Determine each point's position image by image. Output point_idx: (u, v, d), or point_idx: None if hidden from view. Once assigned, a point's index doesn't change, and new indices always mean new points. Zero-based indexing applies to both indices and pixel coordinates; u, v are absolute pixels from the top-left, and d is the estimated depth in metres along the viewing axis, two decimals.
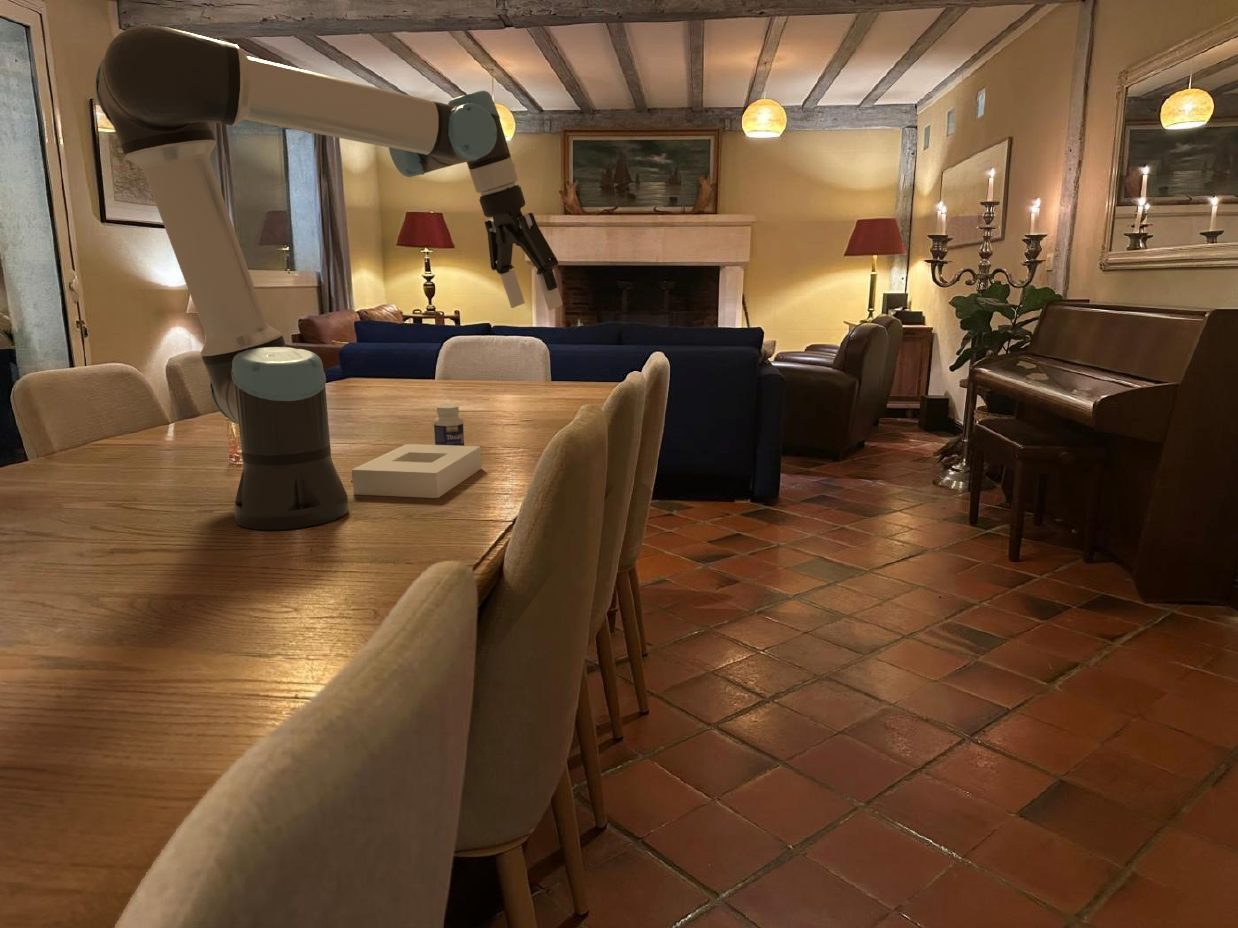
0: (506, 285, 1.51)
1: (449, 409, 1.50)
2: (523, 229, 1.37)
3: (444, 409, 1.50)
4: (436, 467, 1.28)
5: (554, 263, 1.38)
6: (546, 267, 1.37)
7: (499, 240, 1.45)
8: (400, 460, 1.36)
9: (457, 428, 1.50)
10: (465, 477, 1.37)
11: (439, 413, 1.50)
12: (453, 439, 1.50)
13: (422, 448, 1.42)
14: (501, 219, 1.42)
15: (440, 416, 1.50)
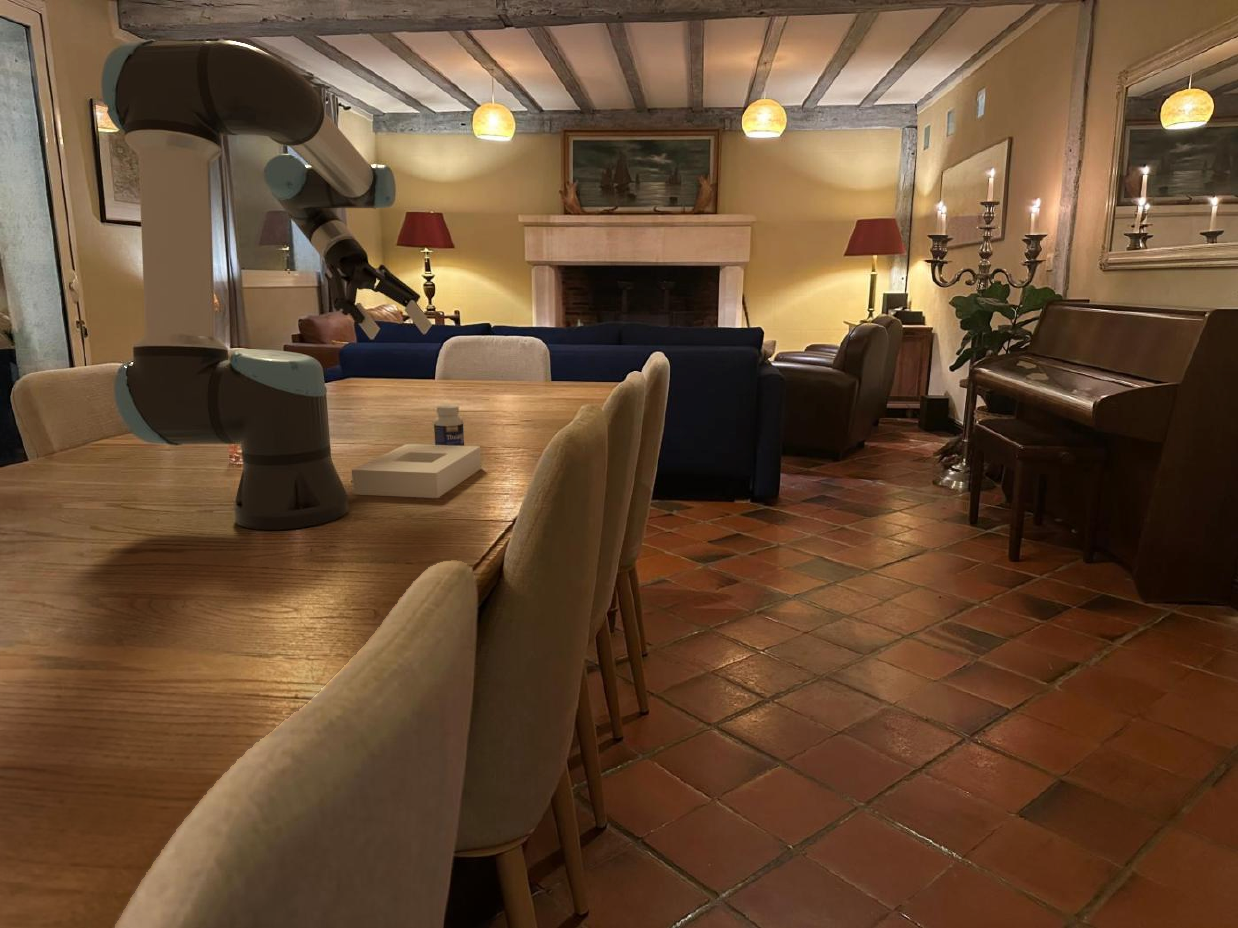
0: None
1: (449, 409, 1.50)
2: (387, 272, 1.61)
3: (444, 409, 1.50)
4: (436, 467, 1.28)
5: (415, 301, 1.64)
6: (419, 296, 1.63)
7: (358, 276, 1.53)
8: (400, 460, 1.36)
9: (457, 428, 1.50)
10: (465, 477, 1.37)
11: (439, 413, 1.50)
12: (453, 439, 1.50)
13: (422, 448, 1.42)
14: (355, 265, 1.56)
15: (440, 416, 1.50)
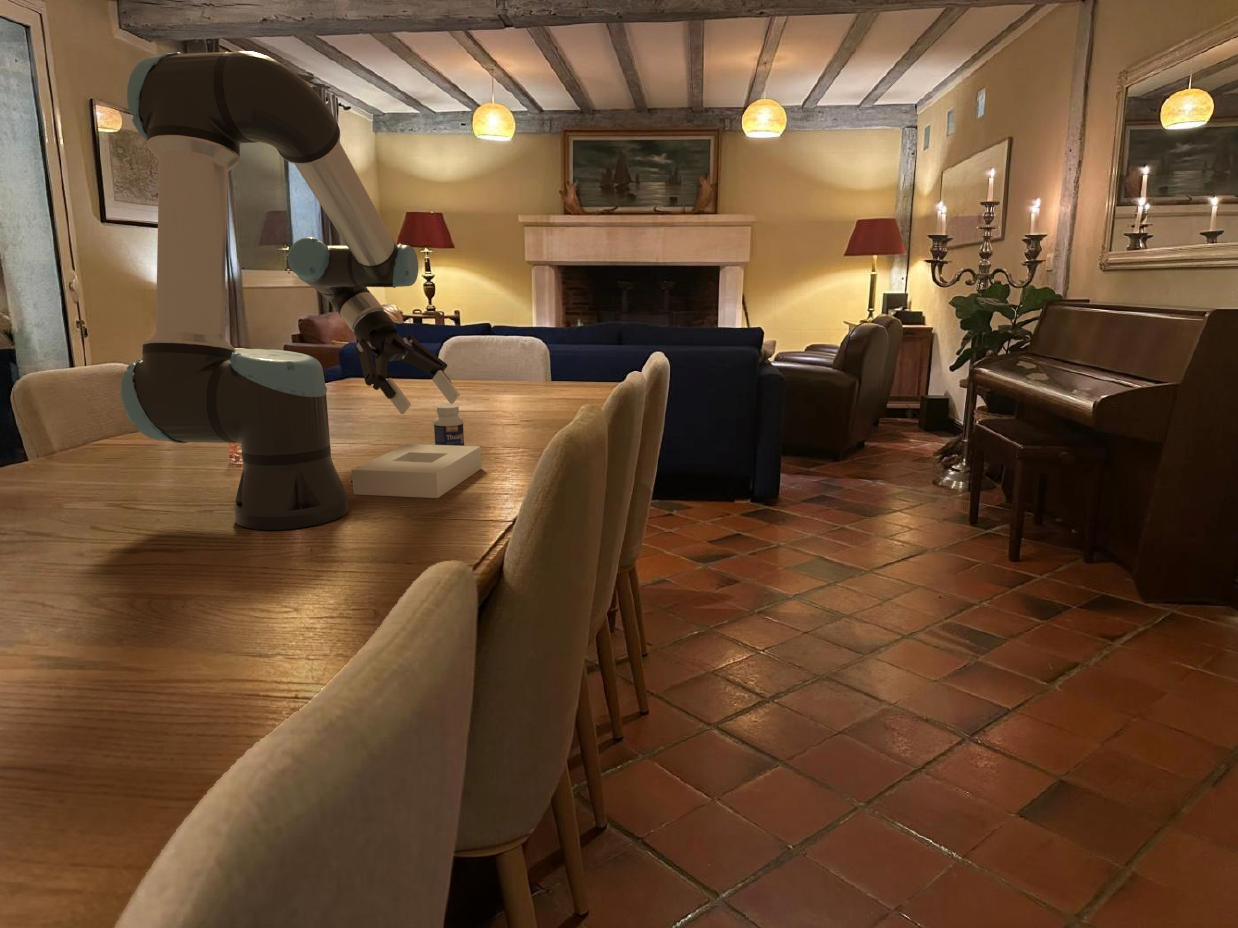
0: None
1: (449, 409, 1.50)
2: (415, 342, 1.62)
3: (444, 409, 1.50)
4: (436, 467, 1.28)
5: None
6: (446, 365, 1.64)
7: (388, 349, 1.54)
8: (400, 460, 1.36)
9: (457, 428, 1.50)
10: (465, 477, 1.37)
11: (439, 413, 1.50)
12: (453, 439, 1.50)
13: (422, 448, 1.42)
14: (384, 337, 1.57)
15: (440, 416, 1.50)
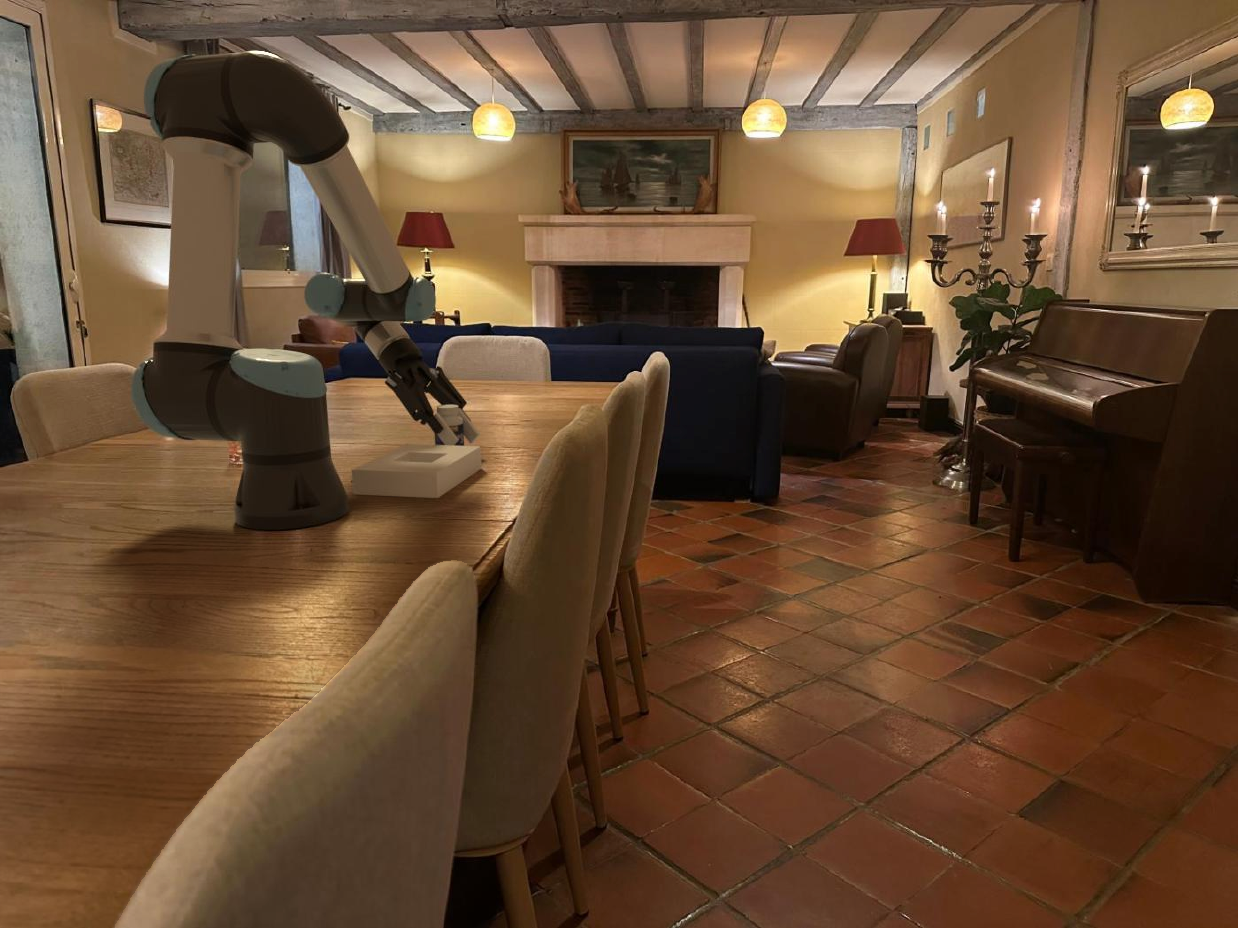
0: None
1: (449, 409, 1.50)
2: (441, 374, 1.58)
3: (444, 409, 1.50)
4: (436, 467, 1.28)
5: None
6: (465, 403, 1.57)
7: (418, 378, 1.52)
8: (400, 460, 1.36)
9: (457, 428, 1.50)
10: (465, 477, 1.37)
11: (439, 413, 1.50)
12: None
13: (422, 448, 1.42)
14: (410, 364, 1.54)
15: None
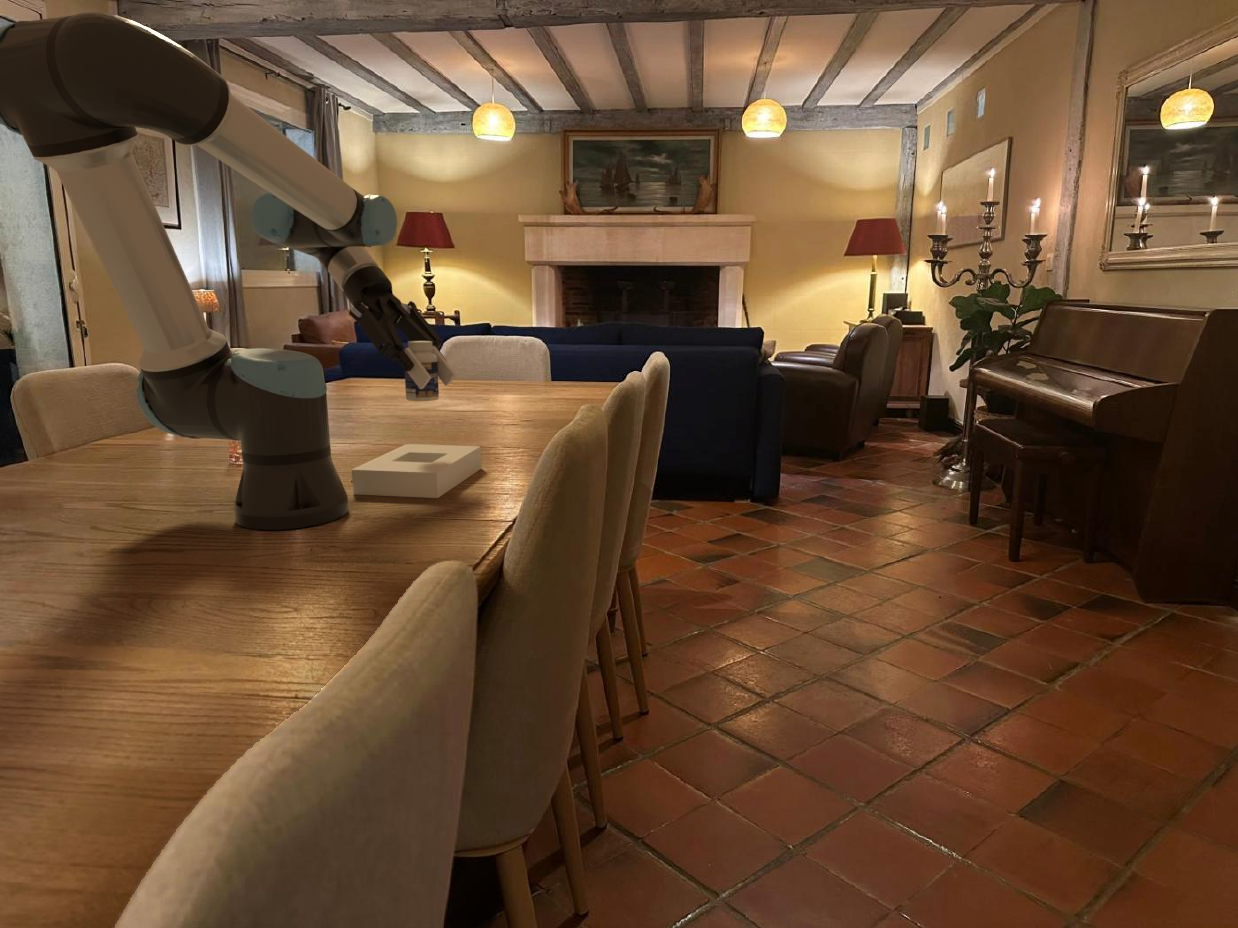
0: None
1: (421, 344, 1.32)
2: (414, 309, 1.41)
3: (416, 343, 1.32)
4: (436, 467, 1.28)
5: None
6: (441, 341, 1.40)
7: (387, 310, 1.34)
8: (400, 460, 1.36)
9: (430, 366, 1.33)
10: (465, 477, 1.37)
11: (410, 348, 1.33)
12: None
13: (422, 448, 1.42)
14: (378, 296, 1.36)
15: None
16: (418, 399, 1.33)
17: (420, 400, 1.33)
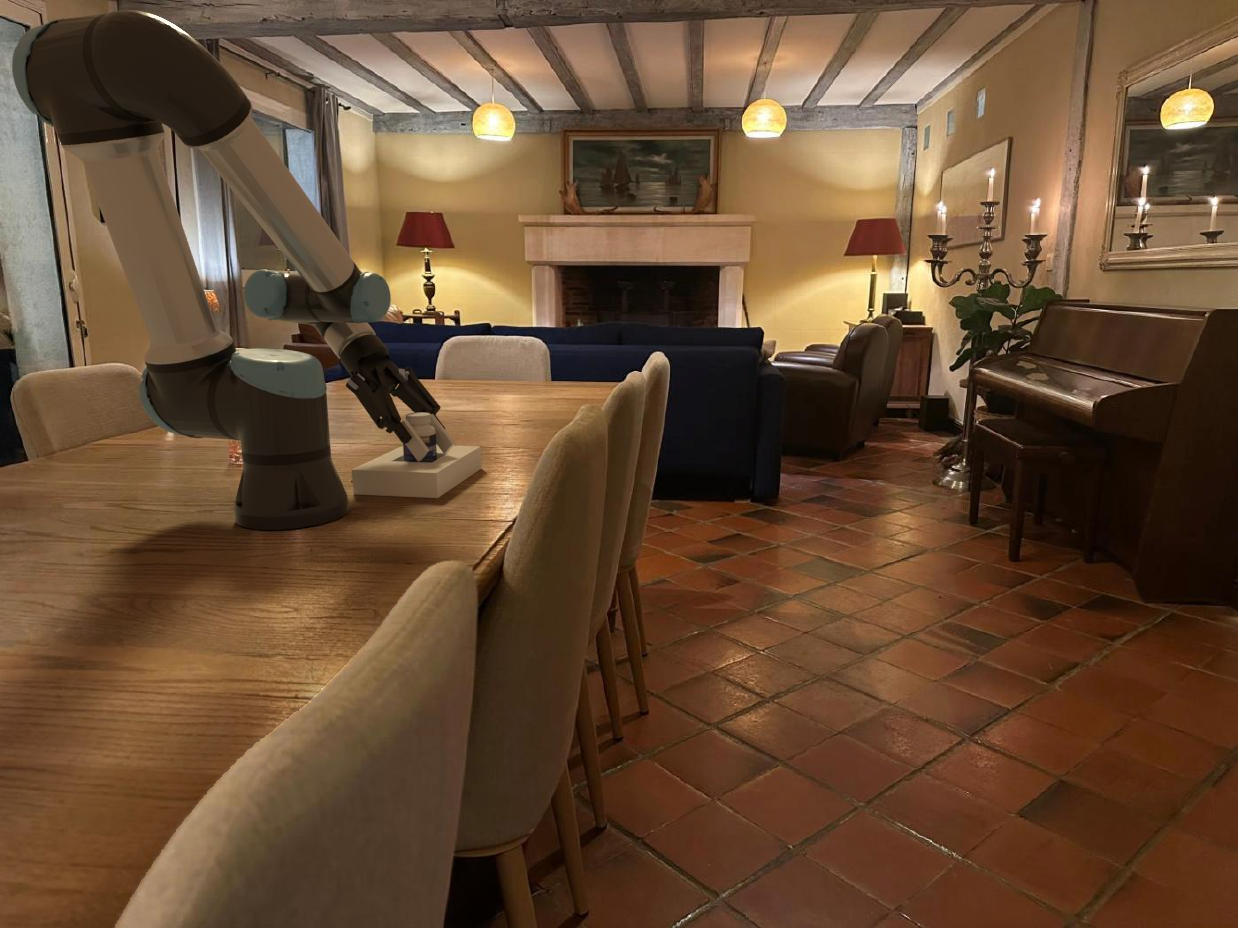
0: None
1: (419, 417, 1.32)
2: (412, 375, 1.40)
3: (414, 417, 1.32)
4: (436, 467, 1.28)
5: (435, 413, 1.40)
6: (439, 408, 1.39)
7: (384, 380, 1.34)
8: (400, 460, 1.36)
9: (428, 439, 1.33)
10: (465, 477, 1.37)
11: None
12: None
13: None
14: (375, 364, 1.36)
15: None
16: None
17: None
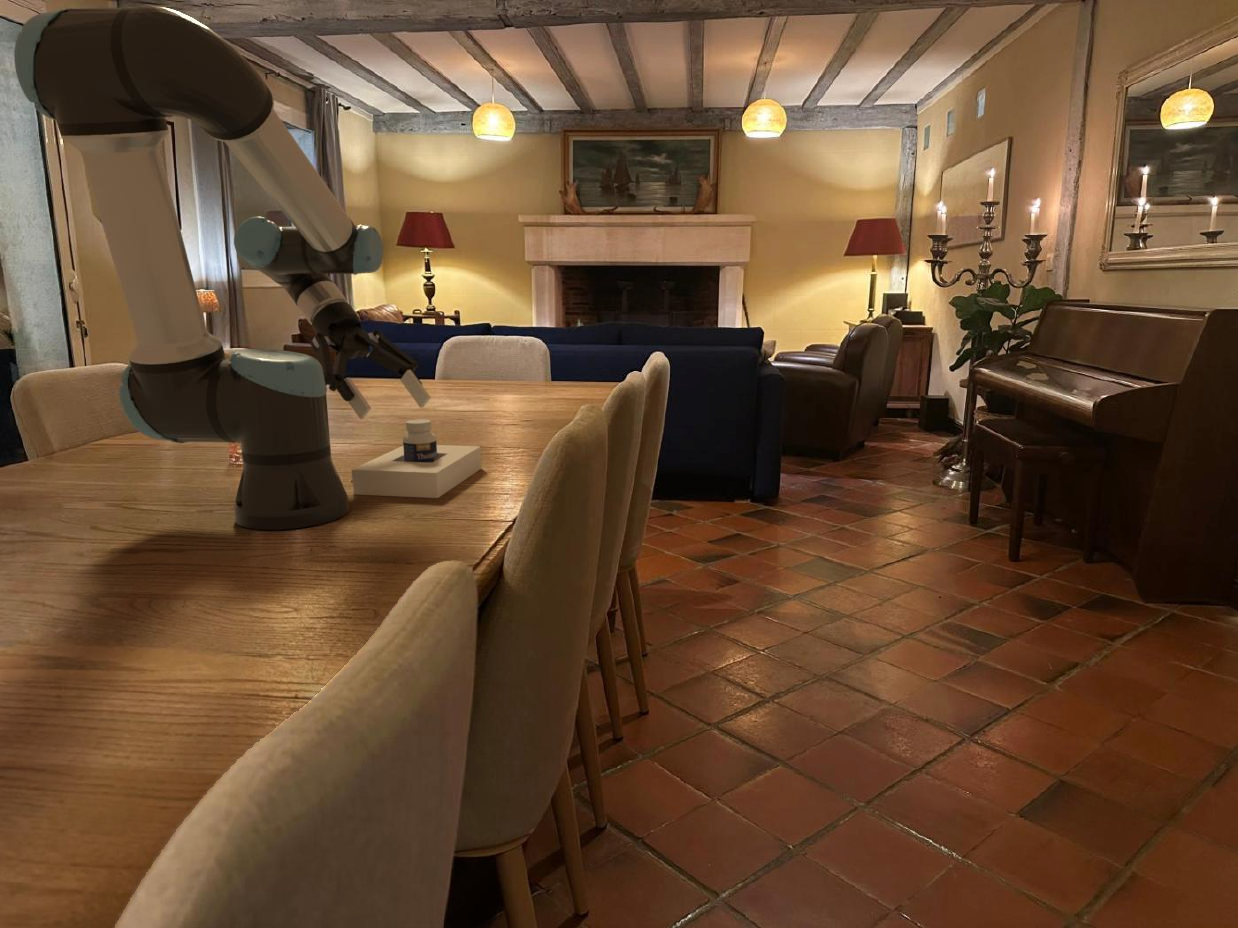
0: None
1: (420, 425, 1.32)
2: (382, 337, 1.44)
3: (414, 425, 1.32)
4: (436, 467, 1.28)
5: (413, 369, 1.47)
6: (417, 364, 1.46)
7: (348, 345, 1.37)
8: (400, 460, 1.36)
9: (429, 446, 1.33)
10: (465, 477, 1.37)
11: (409, 429, 1.33)
12: (424, 459, 1.33)
13: None
14: (346, 331, 1.39)
15: (410, 432, 1.33)
16: None
17: None
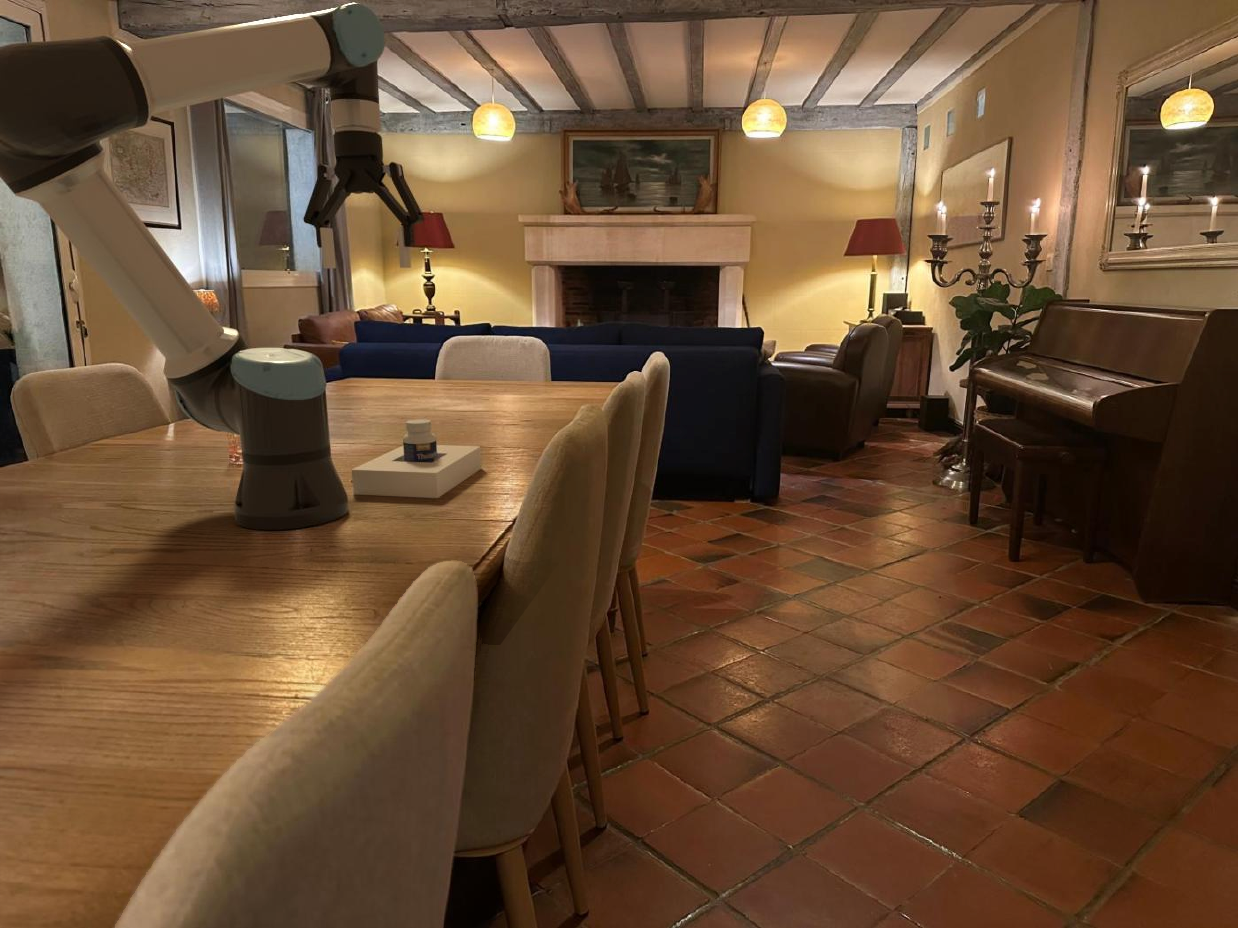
0: (325, 241, 1.35)
1: (420, 425, 1.32)
2: (393, 176, 1.30)
3: (414, 425, 1.32)
4: (436, 467, 1.28)
5: (422, 218, 1.33)
6: (417, 219, 1.31)
7: (342, 186, 1.31)
8: (400, 460, 1.36)
9: (429, 446, 1.33)
10: (465, 477, 1.37)
11: (409, 429, 1.33)
12: (424, 459, 1.33)
13: None
14: (354, 164, 1.31)
15: (410, 432, 1.33)
16: None
17: None
